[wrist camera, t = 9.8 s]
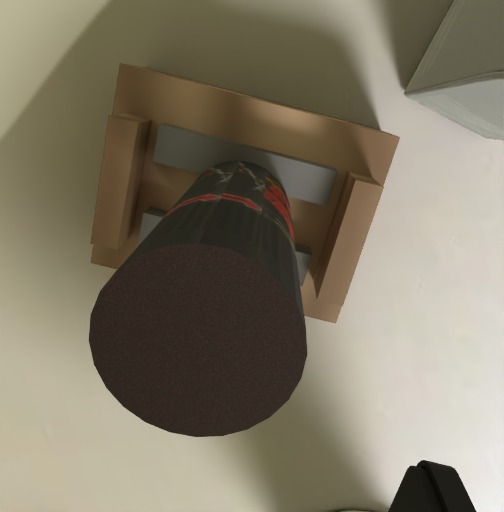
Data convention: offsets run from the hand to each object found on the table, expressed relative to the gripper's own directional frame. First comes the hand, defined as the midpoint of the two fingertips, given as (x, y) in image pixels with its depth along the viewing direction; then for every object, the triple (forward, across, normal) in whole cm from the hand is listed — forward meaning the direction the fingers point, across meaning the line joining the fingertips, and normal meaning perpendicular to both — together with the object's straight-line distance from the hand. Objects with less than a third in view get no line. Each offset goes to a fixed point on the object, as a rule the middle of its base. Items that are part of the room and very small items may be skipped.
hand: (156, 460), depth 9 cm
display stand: (+26, 0, 0) cm, 26 cm away
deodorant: (+19, 0, 0) cm, 19 cm away
